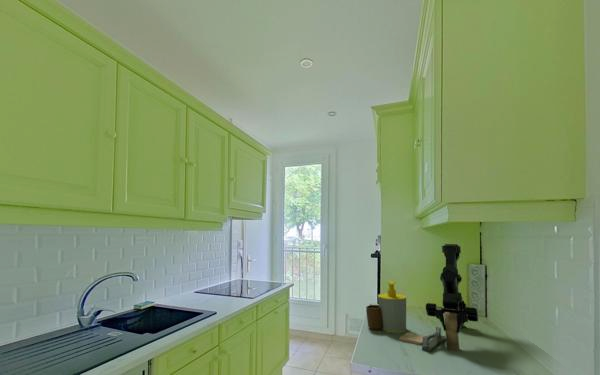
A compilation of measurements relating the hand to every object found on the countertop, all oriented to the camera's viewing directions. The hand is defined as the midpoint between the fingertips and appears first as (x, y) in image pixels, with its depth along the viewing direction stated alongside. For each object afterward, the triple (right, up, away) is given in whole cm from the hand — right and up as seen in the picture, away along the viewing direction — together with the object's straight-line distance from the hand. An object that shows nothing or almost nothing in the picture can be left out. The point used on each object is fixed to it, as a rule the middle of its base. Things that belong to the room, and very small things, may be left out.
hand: (451, 331), depth 118 cm
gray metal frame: (-5, -7, +5) cm, 10 cm away
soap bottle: (-15, -11, +25) cm, 31 cm away
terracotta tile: (-11, -8, +10) cm, 17 cm away
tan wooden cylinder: (+1, -7, 0) cm, 7 cm away
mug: (-23, -11, +28) cm, 37 cm away
